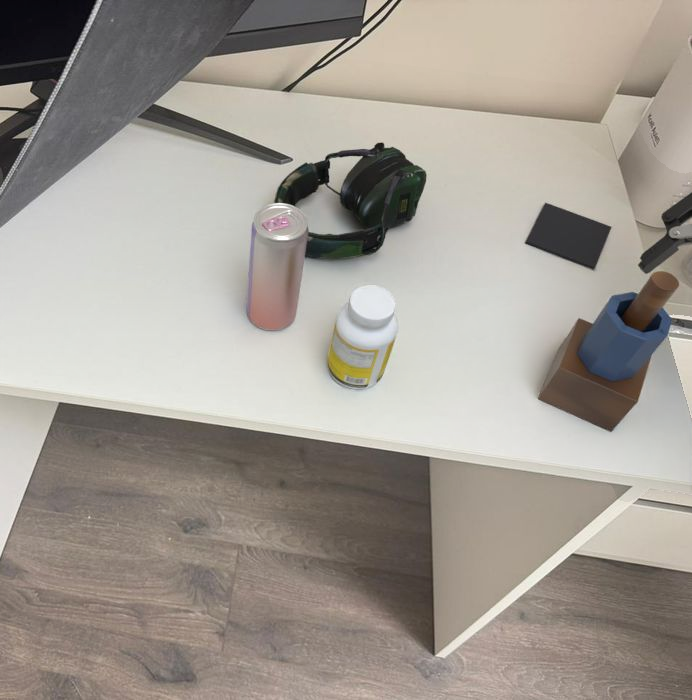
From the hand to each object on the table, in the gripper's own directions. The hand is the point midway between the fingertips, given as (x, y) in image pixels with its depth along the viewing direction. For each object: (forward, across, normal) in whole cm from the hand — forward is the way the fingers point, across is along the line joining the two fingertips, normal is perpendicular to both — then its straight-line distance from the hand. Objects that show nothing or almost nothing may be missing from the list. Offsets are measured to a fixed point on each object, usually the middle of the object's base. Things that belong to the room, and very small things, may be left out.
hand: (673, 299), depth 70 cm
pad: (+2, -20, +18) cm, 27 cm away
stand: (+12, 0, +7) cm, 14 cm away
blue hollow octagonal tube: (+8, 0, +3) cm, 9 cm away
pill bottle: (+28, -12, -9) cm, 32 cm away
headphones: (+21, -34, -1) cm, 39 cm away
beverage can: (+32, -24, -12) cm, 42 cm away
